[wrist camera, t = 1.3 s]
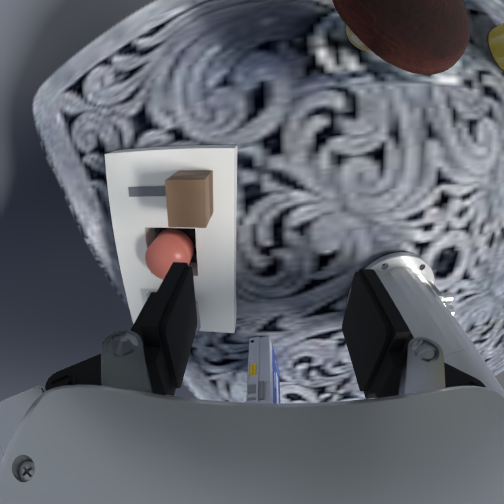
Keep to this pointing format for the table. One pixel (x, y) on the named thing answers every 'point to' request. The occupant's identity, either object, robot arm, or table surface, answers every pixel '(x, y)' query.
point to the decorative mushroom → (408, 31)
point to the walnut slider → (189, 198)
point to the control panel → (155, 216)
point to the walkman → (262, 372)
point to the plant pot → (497, 44)
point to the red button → (168, 251)
